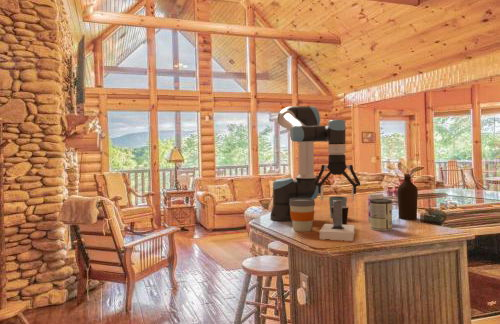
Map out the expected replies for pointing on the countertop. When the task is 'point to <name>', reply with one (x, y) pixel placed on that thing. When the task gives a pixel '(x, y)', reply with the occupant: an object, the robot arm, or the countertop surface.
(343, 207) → the coffee mug
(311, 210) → the reusable coffee cup
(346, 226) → the block with square hole
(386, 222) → the coffee can
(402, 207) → the olive oil
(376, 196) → the supplement can
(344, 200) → the drinking glass
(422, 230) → the countertop surface
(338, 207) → the steel pin
